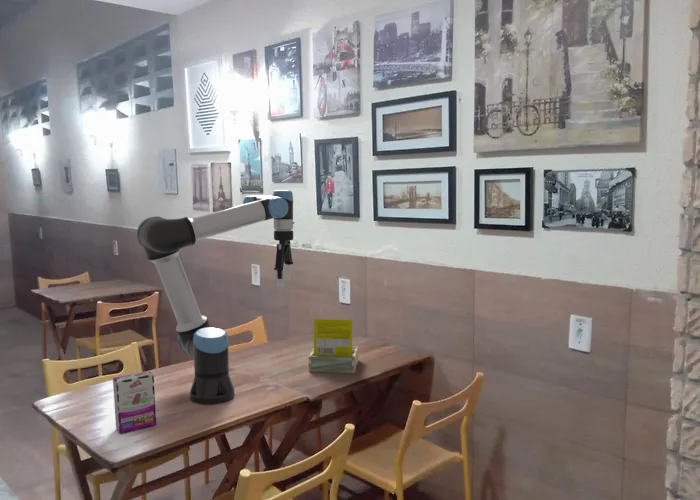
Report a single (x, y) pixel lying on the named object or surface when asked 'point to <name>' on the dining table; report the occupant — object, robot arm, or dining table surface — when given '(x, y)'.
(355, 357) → the rack
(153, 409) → the candy bar box
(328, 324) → the food package
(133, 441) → the dining table surface
